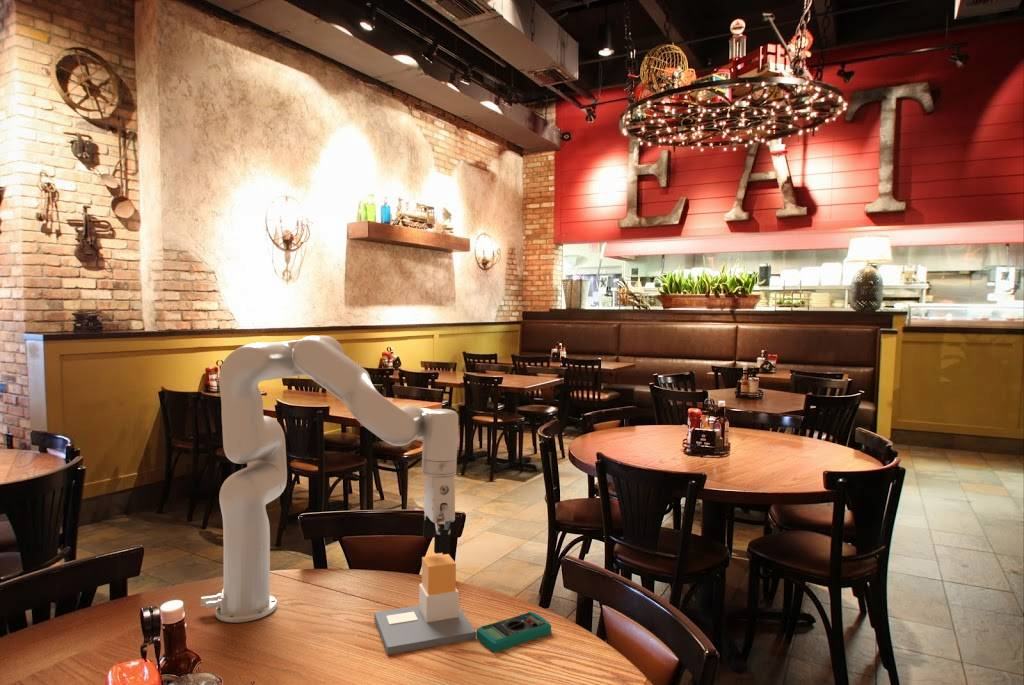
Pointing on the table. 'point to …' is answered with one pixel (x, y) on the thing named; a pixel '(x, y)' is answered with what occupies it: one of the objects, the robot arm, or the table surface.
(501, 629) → the digital multimeter
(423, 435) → the robot arm
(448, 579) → the orange foam cube
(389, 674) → the table surface
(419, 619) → the board
